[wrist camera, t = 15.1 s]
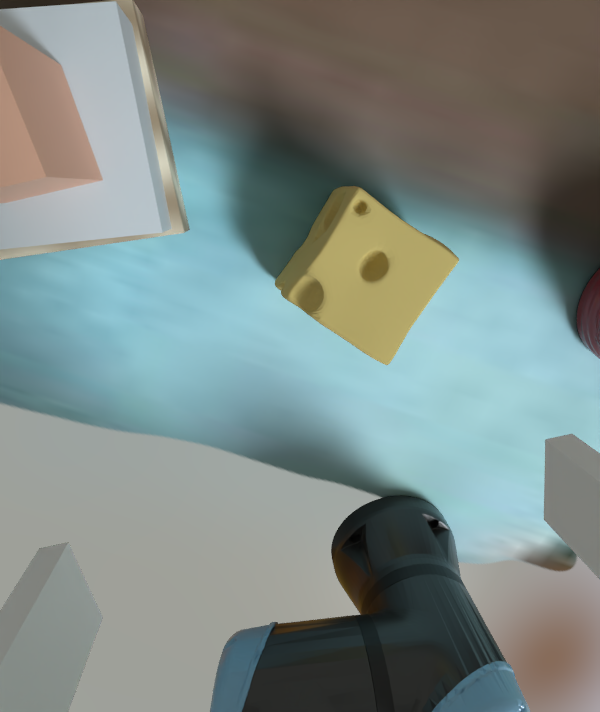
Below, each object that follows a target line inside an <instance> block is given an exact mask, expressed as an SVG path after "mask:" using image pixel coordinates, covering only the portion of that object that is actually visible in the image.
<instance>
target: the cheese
mask: <svg viewBox="0 0 600 712" xmlns="http://www.w3.org/2000/svg"><path fill="white" fill-rule="evenodd" d="M458 261H459V259H458V257H457V256H456V255H455V254H454V253H453V252H452V251H451V250H450V249H449V248H447V247H446V246H445V245H444V244H442V243H441V242H439V241H438V240H436V239H434V238H432V237H430V236H428V235H426V234H423V233H421V232H420V231H418V230H417V229H415V228H413V227H412V226H410V225H409V224H407V223H406V222H404V221H403V220H402V219H400V218H399V217H397V216H396V215H395V214H393V213H392V212H391V211H389V210H388V209H387V208H386V207H384V206H383V205H382V204H381V203H379V202H378V201H377V200H376V199H374V198H373V197H372V196H371V195H369V194H368V193H367V192H366V191H364V190H363V189H362V188H360V187H356V186H349V187H347V186H343V187H339V188H337V189H335V190H333V192H332V193H331V195H330V197H329V198H328V200H327V202H326V203H325V205H324V207H323V208H322V210H321V212H320V213H319V215H318V217H317V218H316V220H315V222H314V224H313V226H312V227H311V230H310V232H309V235H308V237H307V239H306V240H305V242H304V243H303V244H302V246H301V247H300V248H299V249H298V250H297V251H296V252H295V253H294V255H293V256H292V258H291V259H290V261H289V262H288V264H287V265H286V266H285V268H284V269H283V271H282V272H281V273H280V275H279V276H278V277H277V279H276V281H275V286H276V287H277V288H278V289H279V290H281V294H282V296H283V297H284V298H285V299H287V300H288V301H290V302H291V303H293V304H295V305H296V306H298V307H299V308H301V309H302V310H303V311H304V312H306V313H307V314H308V315H310V316H311V317H312V318H314V319H315V320H316V321H317V322H319V323H320V324H322V325H323V326H325V327H326V328H328V329H329V330H331V331H333V332H334V333H336V334H337V335H339V336H340V337H342V338H343V339H345V340H346V341H348V342H349V343H351V344H352V345H354V346H355V347H356V348H358V349H359V350H361V351H362V352H364V353H365V354H367V355H369V356H370V357H372V358H374V359H375V360H377V361H379V362H381V363H383V364H385V365H388V364H389V363H390V362H391V361H392V359H393V357H394V356H395V354H396V352H397V351H398V349H399V347H400V345H401V344H402V342H403V340H404V338H405V337H406V335H407V333H408V331H409V330H410V328H411V327H412V325H413V324H414V322H415V321H416V320H417V318H418V317H419V315H420V314H421V312H422V311H423V310H424V308H425V307H426V305H427V304H428V303H429V301H430V300H431V298H432V297H433V296H434V294H435V293H436V291H437V290H438V288H439V287H440V286H441V284H442V283H443V282H444V280H445V279H446V278H447V276H448V275H449V273H450V272H451V271H452V270H453V268H454V267H455V266H456V264H457V263H458Z"/></svg>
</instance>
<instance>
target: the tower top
mask: <svg viewBox="0 0 600 712" xmlns="http://www.w3.org/2000/svg"><path fill="white" fill-rule="evenodd" d="M0 26H1V27H3V28H5V29H6V30H8V31H9V32H11V33H12V34H14V35H15V36H17V37H19V38H20V39H22V40H23V41H25V42H26V43H28V44H29V45H31V46H32V47H34V48H36V49H37V50H39V51H40V52H42V53H43V54H45V55H46V56H48V57H49V58H51V59H53V60H54V61H56V62H57V63H59V64H60V65H61V66H62V68H63V71H64V74H65V77H66V79H67V82H68V85H69V88H70V90H71V93H72V96H73V99H74V101H75V104H76V107H77V110H78V112H79V115H80V118H81V121H82V123H83V126H84V129H85V132H86V134H87V137H88V140H89V143H90V145H91V148H92V151H93V154H94V156H95V159H96V162H97V165H98V167H99V170H100V173H101V176H102V178H103V180H102V181H97V182H93V183H89V184H85V185H80V186H76V187H72V188H68V189H63V190H59V191H55V192H50V193H46V194H42V195H38V196H33V197H29V198H25V199H21V200H16V201H12V202H8V203H0V250H1V249H10V248H20V247H29V246H39V245H49V244H58V243H68V242H77V241H87V240H96V239H106V238H115V237H125V236H135V235H144V234H154V233H163V232H165V231H167V230H169V229H172V227H171V222H170V217H169V212H168V206H167V201H166V196H165V191H164V186H163V181H162V175H161V170H160V165H159V160H158V155H157V150H156V144H155V139H154V134H153V129H152V124H151V119H150V113H149V108H148V103H147V98H146V93H145V88H144V83H143V77H142V72H141V67H140V62H139V57H138V52H137V46H136V41H135V36H134V31H133V26H132V23H131V22H130V21H129V19H128V18H127V16H126V15H125V14H124V12H123V11H122V9H121V8H120V6H119V5H118V4H117V2H116V1H112V2H97V3H83V4H69V5H54V6H40V7H26V8H12V9H0Z"/></svg>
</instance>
